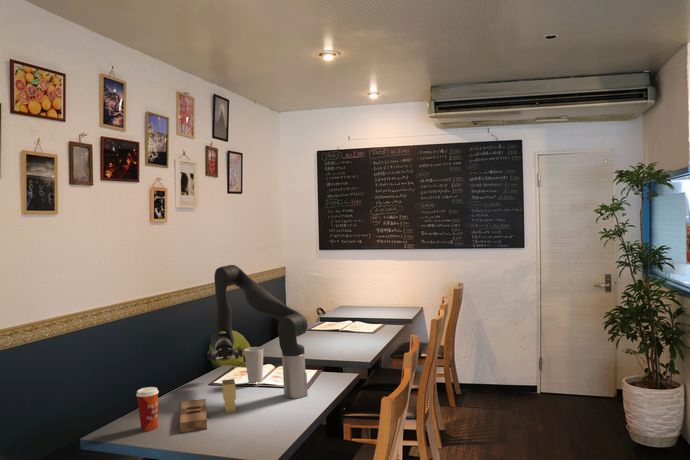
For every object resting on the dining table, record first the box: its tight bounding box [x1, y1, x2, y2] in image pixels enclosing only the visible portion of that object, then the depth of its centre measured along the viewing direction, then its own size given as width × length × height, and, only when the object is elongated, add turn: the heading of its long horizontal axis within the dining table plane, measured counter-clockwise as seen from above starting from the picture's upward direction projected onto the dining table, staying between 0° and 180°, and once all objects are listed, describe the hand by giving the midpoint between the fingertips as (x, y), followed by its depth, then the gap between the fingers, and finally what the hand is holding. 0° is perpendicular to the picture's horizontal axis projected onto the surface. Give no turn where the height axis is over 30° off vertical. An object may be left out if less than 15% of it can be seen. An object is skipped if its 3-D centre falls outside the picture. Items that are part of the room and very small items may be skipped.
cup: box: [243, 346, 264, 384], centre depth 254 cm, size 8×8×16 cm
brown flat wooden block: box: [179, 398, 208, 433], centre depth 212 cm, size 9×24×4 cm, turn 15°
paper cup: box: [135, 386, 160, 432], centre depth 205 cm, size 8×8×14 cm
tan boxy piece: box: [221, 378, 237, 414], centre depth 220 cm, size 5×7×11 cm, turn 15°
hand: (225, 357), depth 230 cm, fingers open, 8 cm apart
